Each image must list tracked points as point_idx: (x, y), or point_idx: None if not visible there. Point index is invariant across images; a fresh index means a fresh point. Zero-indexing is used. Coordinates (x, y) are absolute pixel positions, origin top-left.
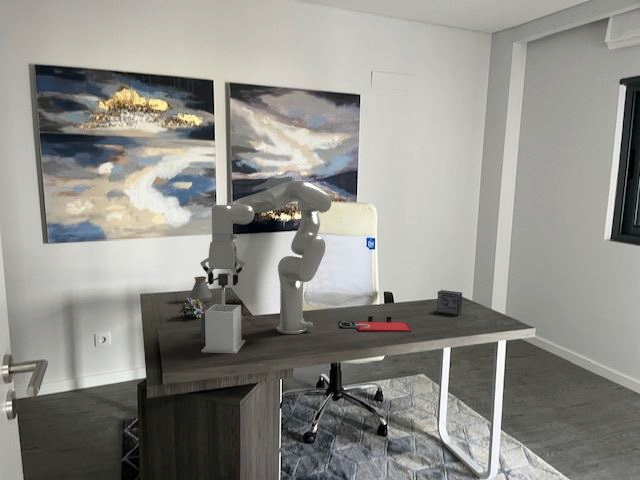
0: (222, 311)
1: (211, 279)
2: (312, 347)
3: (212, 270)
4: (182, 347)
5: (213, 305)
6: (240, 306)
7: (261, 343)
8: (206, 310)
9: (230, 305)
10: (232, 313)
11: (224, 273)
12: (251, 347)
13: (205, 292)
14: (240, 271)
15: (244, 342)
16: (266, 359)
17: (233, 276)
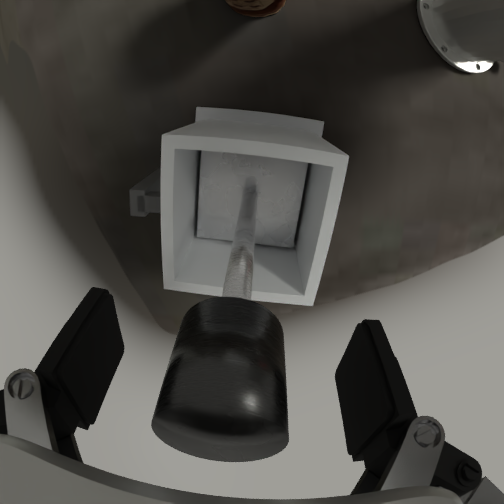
0: (253, 290)
1: (106, 376)
2: (493, 195)
3: (48, 421)
4: (121, 181)
5: (165, 164)
6: (345, 168)
7: (378, 141)
8: (163, 272)
9: (278, 157)
10: (307, 301)
11: (227, 418)
12: (347, 178)
13: None
14: (451, 445)
15: (321, 132)
16: (383, 273)
17: (354, 448)
